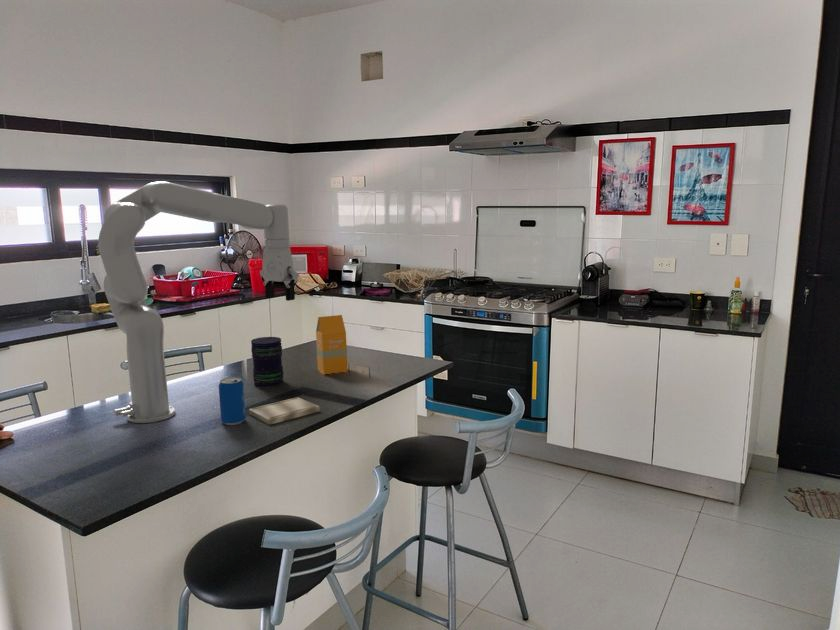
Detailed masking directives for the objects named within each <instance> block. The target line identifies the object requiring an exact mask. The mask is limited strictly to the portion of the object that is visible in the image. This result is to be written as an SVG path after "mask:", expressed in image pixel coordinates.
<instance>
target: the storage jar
mask: <svg viewBox="0 0 840 630" xmlns="http://www.w3.org/2000/svg"><path fill="white" fill-rule="evenodd" d="M250 342H251V346H250V347H251V357H252V361H253V362H252V364H253V368H252V376H253V377H252V378H253V386H254V387H255V386H256V388H259V387H271V388H276V387H275V386H277V387H279V385H280V386H282V385H283V384H284V383H283V382H284V368H283V361H282V356H283V351H282V350H283V346H282V338H280V337H277V336H264V337H263V336H262V337H261V336H260V337H256V338H254V339H251V340H250ZM281 384H282V385H281Z"/></svg>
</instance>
